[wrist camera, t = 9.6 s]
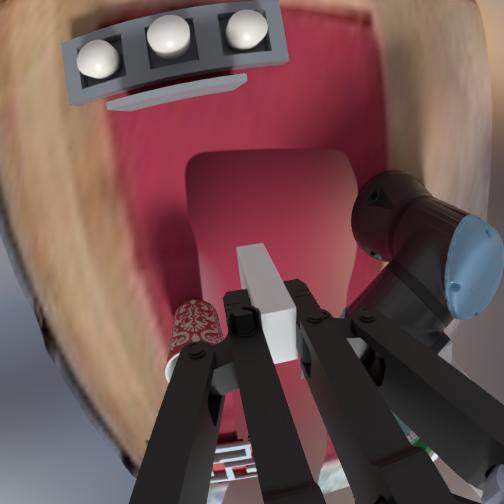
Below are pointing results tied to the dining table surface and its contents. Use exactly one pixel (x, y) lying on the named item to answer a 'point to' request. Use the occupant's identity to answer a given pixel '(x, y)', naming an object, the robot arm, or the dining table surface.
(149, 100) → the card
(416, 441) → the milk carton
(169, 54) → the button middle
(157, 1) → the dining table surface
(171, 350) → the mug
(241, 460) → the maze game
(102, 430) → the dining table surface
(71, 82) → the button board
